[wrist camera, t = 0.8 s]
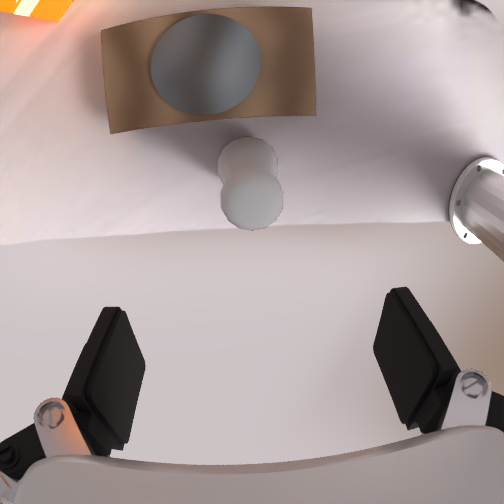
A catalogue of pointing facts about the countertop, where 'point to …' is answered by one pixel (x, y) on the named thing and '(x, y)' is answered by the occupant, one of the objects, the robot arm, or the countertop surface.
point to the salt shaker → (250, 183)
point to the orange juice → (37, 8)
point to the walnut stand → (209, 67)
